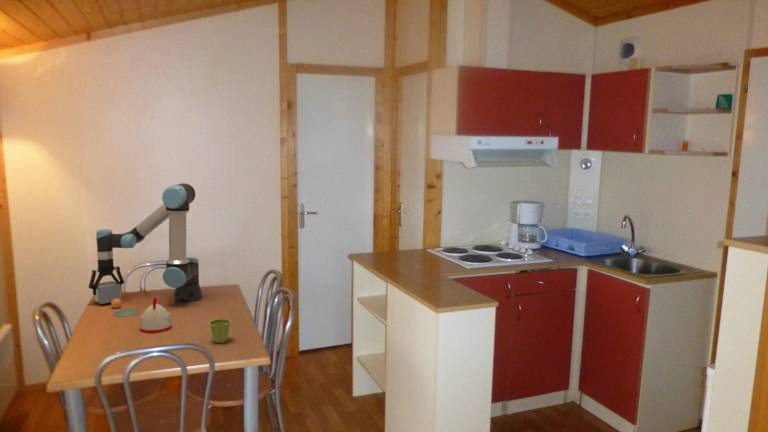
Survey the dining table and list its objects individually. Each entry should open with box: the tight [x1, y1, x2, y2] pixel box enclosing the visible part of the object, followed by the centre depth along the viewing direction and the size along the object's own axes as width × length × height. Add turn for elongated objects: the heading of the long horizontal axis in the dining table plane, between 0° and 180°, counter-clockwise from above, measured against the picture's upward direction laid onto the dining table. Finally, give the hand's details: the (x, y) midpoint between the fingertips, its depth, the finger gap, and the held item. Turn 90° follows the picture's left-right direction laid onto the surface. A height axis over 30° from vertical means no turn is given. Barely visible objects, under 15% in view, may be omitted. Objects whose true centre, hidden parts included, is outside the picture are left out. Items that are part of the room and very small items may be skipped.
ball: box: [110, 298, 123, 309], centre depth 299 cm, size 5×5×5 cm
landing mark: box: [112, 308, 140, 318], centre depth 291 cm, size 12×12×1 cm
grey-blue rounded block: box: [93, 280, 122, 305], centre depth 307 cm, size 10×10×9 cm
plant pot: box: [208, 318, 232, 344], centre depth 254 cm, size 9×9×9 cm
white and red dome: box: [139, 297, 172, 334], centre depth 268 cm, size 14×14×15 cm
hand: (107, 298), depth 307 cm, fingers closed on grey-blue rounded block, 10 cm apart
